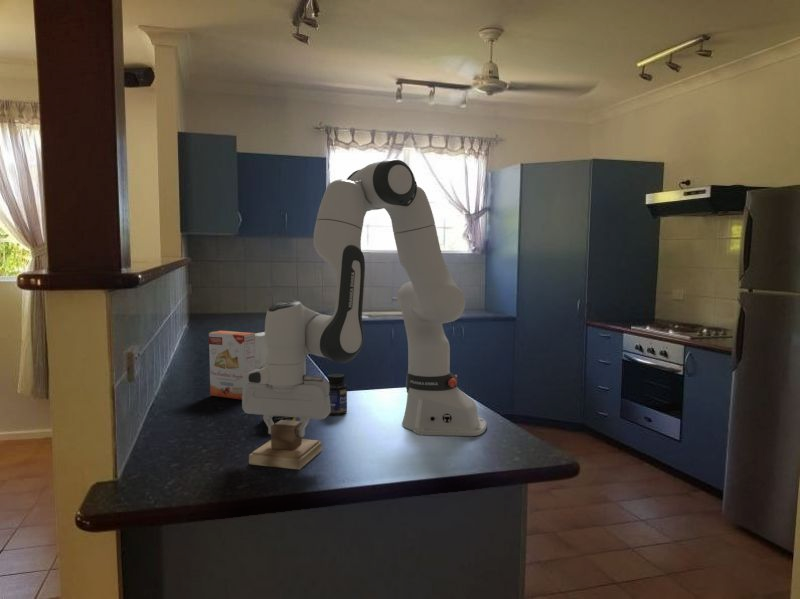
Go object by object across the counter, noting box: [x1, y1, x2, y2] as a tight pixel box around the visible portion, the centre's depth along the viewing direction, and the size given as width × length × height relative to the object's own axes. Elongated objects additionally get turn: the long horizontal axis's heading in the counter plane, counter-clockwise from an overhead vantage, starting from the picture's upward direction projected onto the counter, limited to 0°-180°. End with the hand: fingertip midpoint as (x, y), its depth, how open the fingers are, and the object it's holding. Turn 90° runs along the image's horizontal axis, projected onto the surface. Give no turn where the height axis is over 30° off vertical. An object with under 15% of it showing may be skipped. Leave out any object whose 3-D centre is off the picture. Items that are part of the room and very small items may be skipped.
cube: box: [270, 420, 303, 450], centre depth 124 cm, size 5×5×5 cm
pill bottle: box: [327, 373, 348, 416], centre depth 159 cm, size 6×6×11 cm
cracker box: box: [208, 330, 256, 401], centre depth 177 cm, size 14×6×21 cm, turn 68°
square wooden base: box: [248, 438, 323, 470], centre depth 124 cm, size 12×12×2 cm
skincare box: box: [254, 331, 267, 369], centre depth 213 cm, size 8×7×16 cm
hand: (286, 434), depth 124 cm, fingers open, 5 cm apart
